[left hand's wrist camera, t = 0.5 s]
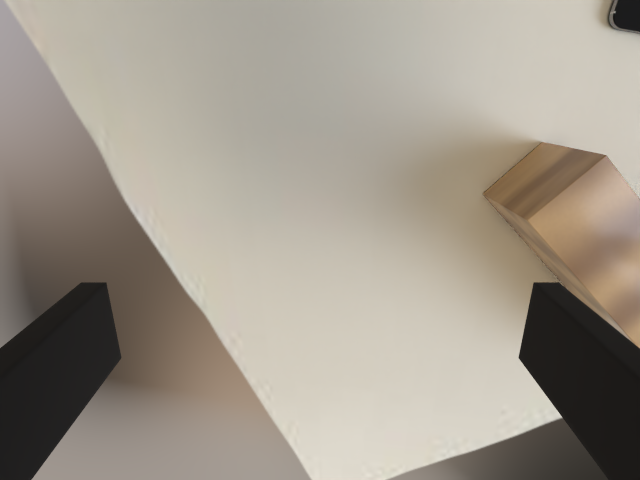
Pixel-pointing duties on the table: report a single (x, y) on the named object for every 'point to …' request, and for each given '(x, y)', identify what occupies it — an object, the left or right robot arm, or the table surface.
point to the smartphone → (625, 15)
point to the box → (579, 227)
